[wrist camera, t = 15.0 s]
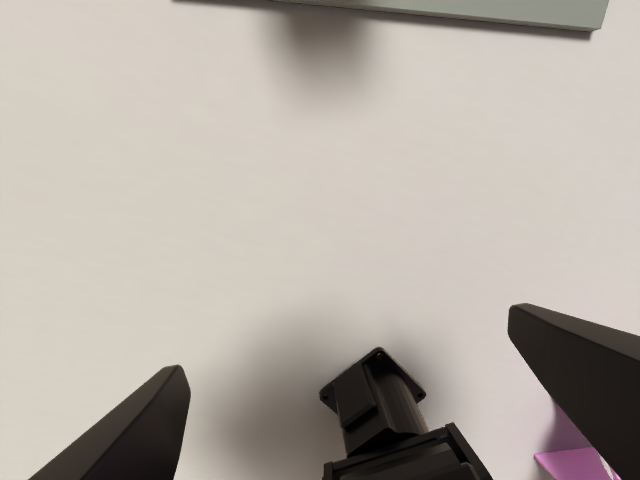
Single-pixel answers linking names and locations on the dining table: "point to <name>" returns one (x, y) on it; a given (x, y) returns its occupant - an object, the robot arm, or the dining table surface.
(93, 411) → the dining table surface
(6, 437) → the dining table surface
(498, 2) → the slate board
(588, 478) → the toy chair
